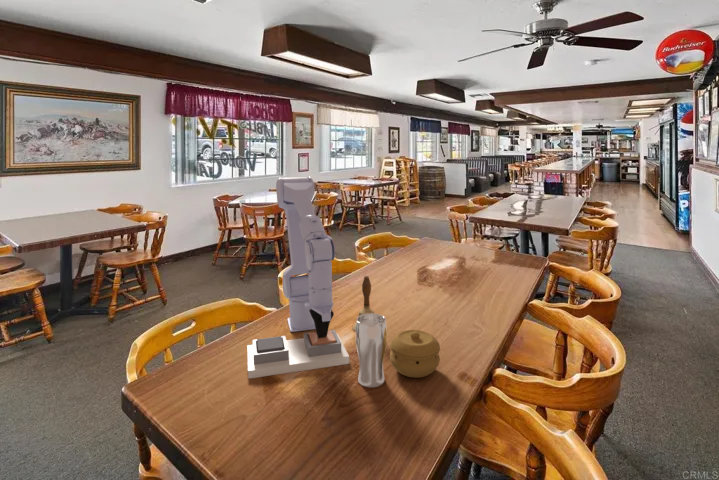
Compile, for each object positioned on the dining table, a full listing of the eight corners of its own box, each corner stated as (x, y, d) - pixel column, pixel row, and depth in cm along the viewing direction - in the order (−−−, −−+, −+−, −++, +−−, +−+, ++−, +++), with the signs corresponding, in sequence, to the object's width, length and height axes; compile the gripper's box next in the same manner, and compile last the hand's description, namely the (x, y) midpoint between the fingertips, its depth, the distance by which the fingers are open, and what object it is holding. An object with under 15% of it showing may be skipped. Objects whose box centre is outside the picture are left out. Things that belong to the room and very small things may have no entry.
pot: (391, 384, 91) (391, 343, 89) (387, 358, 103) (388, 321, 100) (443, 384, 91) (445, 343, 89) (434, 358, 102) (435, 321, 100)
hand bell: (385, 331, 118) (385, 278, 114) (358, 336, 115) (358, 282, 111) (373, 320, 125) (374, 271, 122) (348, 324, 122) (348, 274, 119)
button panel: (247, 352, 106) (246, 336, 105) (337, 340, 112) (337, 325, 111) (248, 378, 94) (247, 360, 93) (349, 363, 100) (349, 346, 99)
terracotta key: (308, 343, 106) (308, 332, 106) (331, 340, 108) (331, 330, 107) (312, 354, 101) (312, 343, 100) (336, 351, 102) (335, 340, 102)
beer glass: (384, 371, 96) (385, 312, 93) (387, 388, 90) (388, 325, 86) (355, 372, 96) (355, 313, 93) (356, 389, 89) (356, 325, 86)
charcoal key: (257, 350, 103) (257, 339, 102) (281, 347, 105) (281, 336, 104) (258, 361, 97) (257, 350, 97) (284, 358, 99) (283, 346, 98)
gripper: (300, 278, 106) (302, 327, 109) (309, 297, 93) (310, 352, 96) (326, 276, 108) (328, 324, 111) (339, 294, 95) (340, 348, 98)
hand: (322, 336), depth 104 cm, fingers closed, pressing on terracotta key
